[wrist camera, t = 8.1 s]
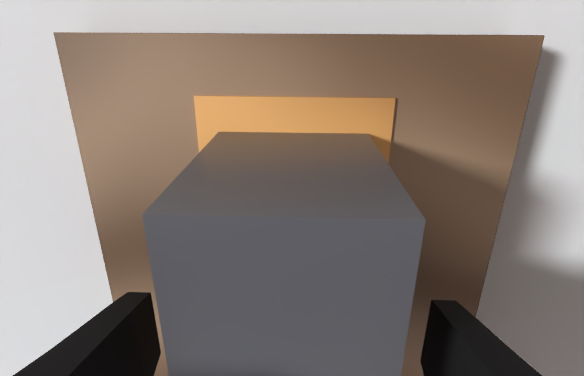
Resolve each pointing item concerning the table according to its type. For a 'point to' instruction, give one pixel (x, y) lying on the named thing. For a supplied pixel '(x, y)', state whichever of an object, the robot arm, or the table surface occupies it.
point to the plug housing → (285, 258)
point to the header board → (306, 131)
